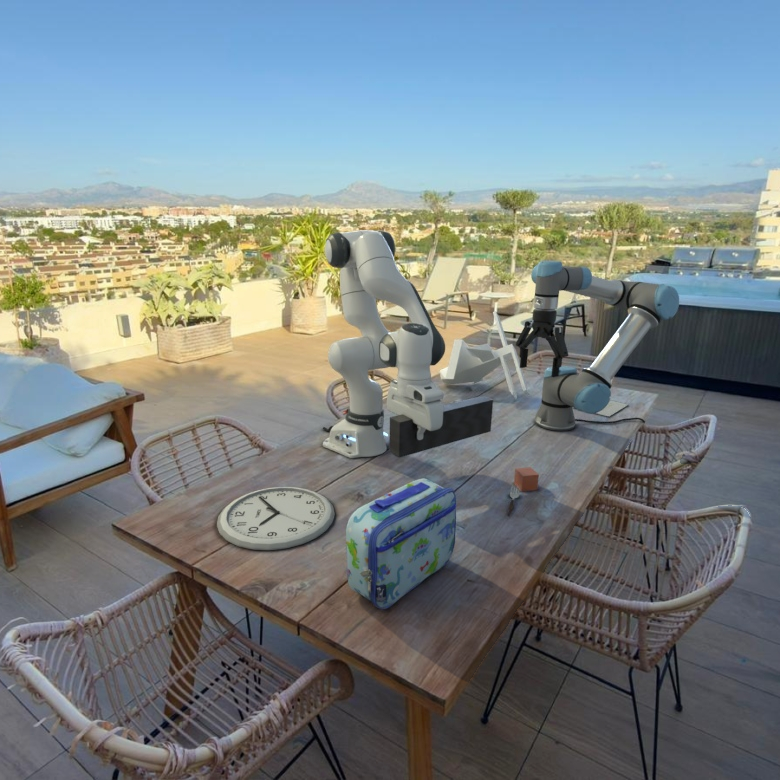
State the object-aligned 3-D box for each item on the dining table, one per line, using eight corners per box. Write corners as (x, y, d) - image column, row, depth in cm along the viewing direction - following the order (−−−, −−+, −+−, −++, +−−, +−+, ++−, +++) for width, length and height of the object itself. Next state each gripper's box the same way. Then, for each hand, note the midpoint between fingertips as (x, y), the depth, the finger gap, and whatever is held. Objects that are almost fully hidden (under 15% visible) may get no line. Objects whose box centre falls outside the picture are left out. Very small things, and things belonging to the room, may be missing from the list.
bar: (480, 426, 160) (482, 395, 157) (490, 431, 156) (493, 399, 153) (389, 452, 141) (389, 417, 138) (399, 457, 137) (399, 422, 134)
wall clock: (333, 542, 123) (202, 546, 121) (333, 547, 124) (203, 552, 121) (335, 482, 152) (229, 485, 149) (335, 487, 152) (230, 490, 150)
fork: (503, 516, 138) (503, 510, 138) (511, 489, 153) (511, 483, 152) (513, 518, 137) (513, 511, 137) (520, 491, 152) (520, 485, 151)
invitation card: (608, 416, 214) (573, 407, 224) (608, 416, 214) (573, 408, 224) (628, 404, 229) (594, 396, 238) (628, 405, 229) (594, 397, 238)
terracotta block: (529, 482, 158) (530, 467, 156) (537, 490, 153) (538, 474, 152) (513, 483, 157) (515, 468, 155) (521, 491, 152) (523, 476, 151)
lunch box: (375, 622, 100) (376, 527, 94) (339, 595, 108) (338, 505, 101) (459, 565, 118) (465, 481, 112) (424, 545, 125) (427, 465, 119)
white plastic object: (461, 429, 252) (437, 405, 227) (444, 352, 274) (420, 323, 250) (535, 404, 240) (518, 377, 215) (510, 326, 262) (492, 293, 237)
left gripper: (381, 379, 143) (380, 426, 147) (428, 398, 127) (426, 450, 132) (400, 375, 147) (399, 421, 151) (448, 394, 131) (445, 445, 135)
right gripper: (508, 305, 179) (503, 365, 185) (569, 315, 159) (561, 382, 166) (523, 303, 183) (518, 362, 189) (584, 313, 164) (576, 378, 170)
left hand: (412, 435), depth 141 cm, fingers closed on bar, 4 cm apart
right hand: (538, 371), depth 178 cm, fingers open, 13 cm apart
